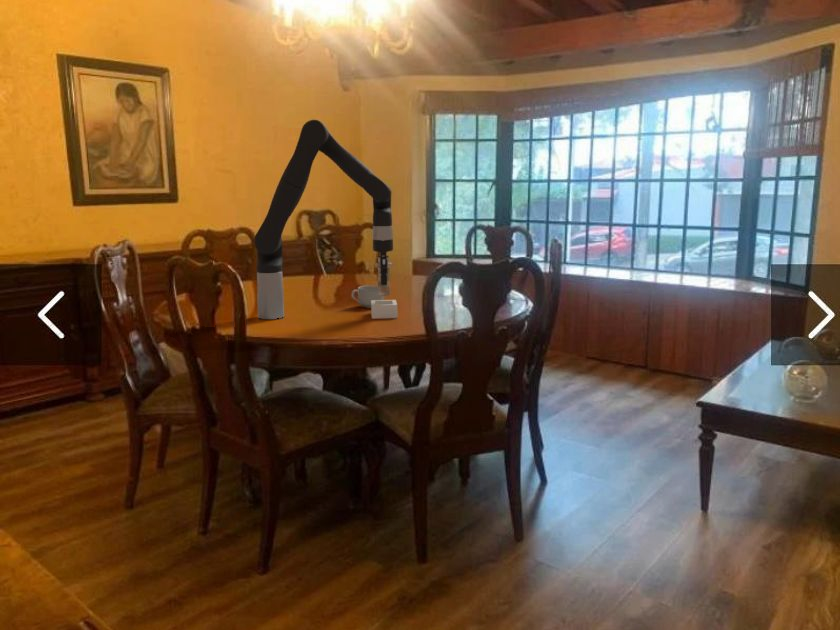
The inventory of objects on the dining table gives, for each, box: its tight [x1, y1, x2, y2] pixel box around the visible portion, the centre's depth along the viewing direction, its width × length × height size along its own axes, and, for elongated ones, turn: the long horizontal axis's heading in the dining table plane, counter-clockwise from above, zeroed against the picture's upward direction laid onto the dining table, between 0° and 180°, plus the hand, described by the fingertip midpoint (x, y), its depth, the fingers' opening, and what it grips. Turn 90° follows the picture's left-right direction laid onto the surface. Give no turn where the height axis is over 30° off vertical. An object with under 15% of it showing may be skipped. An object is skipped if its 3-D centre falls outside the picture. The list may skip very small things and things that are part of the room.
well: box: [370, 299, 399, 320], centre depth 253 cm, size 10×11×5 cm
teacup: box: [350, 285, 385, 309], centre depth 271 cm, size 14×11×8 cm
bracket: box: [374, 262, 393, 297], centre depth 251 cm, size 6×4×12 cm, turn 95°
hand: (383, 283), depth 251 cm, fingers closed on bracket, 4 cm apart
